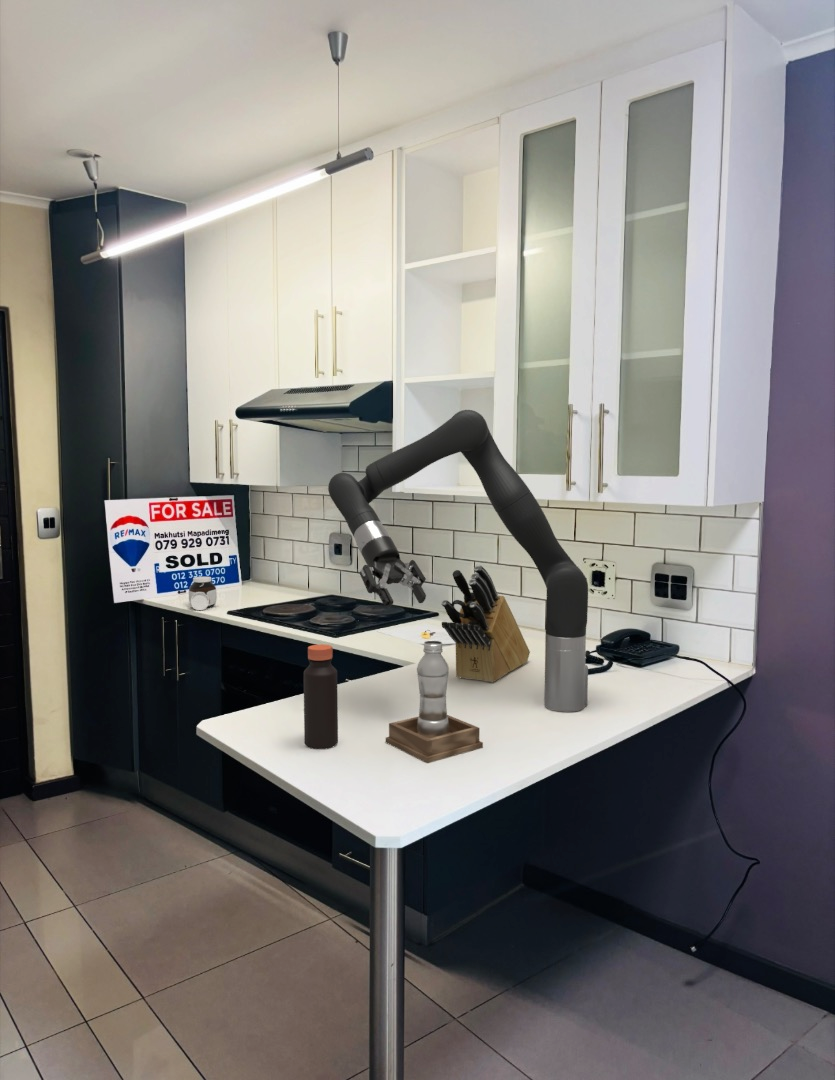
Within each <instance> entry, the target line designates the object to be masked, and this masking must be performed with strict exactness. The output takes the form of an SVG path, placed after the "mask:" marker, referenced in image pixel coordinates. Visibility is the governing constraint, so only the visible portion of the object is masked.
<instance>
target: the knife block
mask: <svg viewBox="0 0 835 1080" xmlns="http://www.w3.org/2000/svg"><path fill="white" fill-rule="evenodd" d="M473 572H474V573H472V574H471V575H470V579H469V580H468V582H467V580H466V579H467V578H465V576H464V575H463V573H462V571H460V570H458V569H455V570H454V571H453V572H452V577H453V580H454V583H455V584H456V586H457V588H458V589H459V591H460V593H462V594H463V600H460V599H455V600H453V601H452V602H450V601H449V600H447V599H446V600H443V601H441V606H442V607H443V608H444V609H445V612H446V614H447V616H448V617H449V619H450V621H452V622H450V621H449V622H447V621H442V622H441V627H442V629H444V630H445V631H446V633H447V634H448V636H449V637H450V638H451V640H452V641H453V642H454V644H455V675H456V677H457V678H460V677H461V678H460V679H462V678H464V679H470V680H475V681H477V680H478V681H484V682H487V683H494V682H495V681H497V680H499V679H500V678H502V677H503V676H505V675H507V674H508V673H509V672H511V671H513V670H515V669H517V668H519V667H521V666H522V665H524V664H526V663H527V662H528V661H529V657H530V653H531V651H530V649H529V646H528V645H527V643H526V640H525V638H524V636H523V634H522V631H521V629H520V627H519V624H518V623H517V620H516V618H515V616H514V614H513V612H512V610H511V609H510V608H511V607H510V606H509V604H508V602H507V600H506V598H505V596H504V595H499V593H498V592H497V589H496V586H495V584H494V582H493V579H492V577H491V575H490V573H488V570H486V569H485V568H484V567H483V566H482V565H481V564H477V565H475V567H474V568H473ZM469 586H470V587H469ZM470 588H471V590H472V592H471V590H470ZM455 605H459V606H461V607H460V610H459V611H458V610H457V609H456V608H455Z"/></svg>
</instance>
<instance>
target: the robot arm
mask: <svg viewBox="0 0 835 1080" xmlns="http://www.w3.org/2000/svg"><path fill="white" fill-rule="evenodd" d="M490 431H491V430H490V429H489V426H488V424H487V421H486V419H485V417H483V415H482V414H480V413H479V412H477V411H475V410H472V409H463V410H459V411H458V412H456V413H455V414H453V416H452V417H451V418H449V419H448V420H446V421H445V422H444V423H443V424H441V425H440V426H438V427H437V428H436V429H435V430H433V431H431V432H430V433H428V434H426V435H425V436H423V437H421V438H419V439H418V440H415V441H414V442H412V443H409V444H407V445H405V446H403V447H401V448H399V449H396V450H395V451H393V452H391V453H388V454H386V455H385V456H383V457H381V458H379V459H377V460H376V461H375V460H374V461H373V462H371V463H369V464H368V465H367V466H366V468H365V476H364V477H362V479H360V480H359V481H358V480H357V479H356V478H355V477H354V476H353V475H352V474H350V473H348V472H337V473H336V474H335V475H333V476H332V477H331V478H330V480H329V483H328V488H327V490H328V494H329V496H330V499H331V501H332V502H333V504H334V505H335V506H336V508H337V510H338V511H339V513H340V514H341V516H342V517H343V518H344V520H345V523H346V524H347V526H348V528H349V530H350V532H351V534H352V536H353V538H354V541H355V543H356V546H357V548H358V550H359V552H360V554H361V556H362V558H363V560H364V561H365V564H364V565H363V567H362V568H361V570H360V571H359V575H360V577H361V579H362V581H363V584H364V587H365V589H366V591H367V593H369V594H373V593H375V594H376V595H377V596H378V597H379V598H380V601H381V602H382V604H383V606H384V607H386V608H387V609H389V608H392V606H393V604H394V599H393V598H392V595H391V594H390V591H389V590H388V588H386V586H387V585H391V584H392V585H393V584H400V585H402V586H404V587H405V586H406V587H407V588H410V590H412V591H411V592H412V593H413V595H414V597H415V599H416V601H417V602H418V604H423V603H424V602H425V601H426V598H427V594H426V592H425V590H424V589H423V587H422V586H423V584H424V582H426V580H427V579H426V577H425V575H424V574H423V572H422V570H421V569H420V567H419V565H418V564H417V563H416V561H415V560H414V559H412V560H410V561H409V562H406V563H405V562H403V560H401V557H400V552H399V550H398V548H397V547H396V544H395V543H394V541H393V539H392V537H391V536H390V535H391V534H389V531H388V530H387V529H386V527H385V525H383V524H382V521H381V520H380V517H378V514H377V512H376V511H375V510H374V508H373V507H372V506H371V504H370V503H372V502H373V501H374V500H375V499H376V498H377V497H379V496H380V495H381V494H382V493H383V492H384V491H386V490H389V489H390V488H393V487H394V486H396V485H397V484H399V483H402V482H404V481H406V480H408V479H409V478H411V477H412V476H414V475H416V474H418V473H419V472H420V471H422V470H424V469H426V468H427V467H428V466H430V465H432V464H434V463H436V462H438V461H440V460H442V459H445V458H447V457H449V456H451V455H454V454H458V453H461V454H462V456H464V458H465V459H466V461H467V463H469V464H470V467H472V469H473V470H474V472H475V473H476V474H477V476H478V478H479V480H480V482H481V485H482V487H483V489H484V492H485V493H486V496H487V498H488V500H489V502H490V504H491V506H492V508H493V509H494V511H495V512H496V514H497V515H498V517H499V519H500V520H501V522H502V523H503V525H504V527H505V528H506V529H507V531H508V532H509V533H510V534H511V536H512V537H513V538H514V540H515V541H516V542H517V543H518V545H520V547H521V548H523V550H524V551H525V552H526V553H527V554H528V556H529V557H530V558H531V559H532V562H533V563H534V565H535V566H536V569H537V570H538V572H539V574H540V576H541V578H542V580H543V582H544V584H545V587H546V602H545V603H546V605H545V606H546V607H545V608H546V610H545V611H546V612H545V615H546V616H545V634H544V635H545V641H544V642H545V643H544V644H545V649H544V650H545V651H544V699H543V701H544V704H543V705H544V707H545V708H547V709H549V710H552V711H556V712H562V713H564V712H567V713H569V712H571V713H572V712H578V711H582V710H584V708H585V707H587V706H588V695H589V694H588V691H589V690H588V689H589V688H588V687H589V686H588V685H589V682H588V681H589V666H588V665H587V664H586V650H587V649H586V643H587V641H586V640H587V626H588V625H587V624H588V613H589V611H588V608H589V606H588V605H589V583H588V580H587V578H586V576H585V574H584V572H583V571H582V570H581V569H580V567H579V566H577V564H576V563H575V562H574V560H572V559H571V557H570V556H569V554H568V553H567V552H566V551H565V549H564V548H563V547H562V545H561V544H560V542H559V541H558V540H557V537H556V536H555V534H554V532H553V530H552V527H551V524H550V523H549V520H548V519H547V517H546V515H545V513H544V510H543V509H542V507H541V505H540V504H539V501H538V500H537V499H536V497H535V496H534V494H533V493H532V491H531V489H530V488H529V487H528V486H527V484H526V482H525V481H524V480H523V479H522V478H521V476H520V475H519V474H518V472H517V471H516V470H515V469H514V468H513V466H512V465H511V464H510V463H509V462H508V460H507V459H506V458H505V457H504V456H503V454H502V452H501V451H500V449H499V447H498V444H497V443H496V441H495V439H494V438H493V435H492V432H490ZM405 576H406V577H405ZM375 577H376V578H377V581H376V579H375ZM404 577H405V579H404ZM386 584H387V585H386Z"/></svg>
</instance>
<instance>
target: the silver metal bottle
mask: <svg viewBox="0 0 835 1080" xmlns="http://www.w3.org/2000/svg"><path fill="white" fill-rule="evenodd" d="M443 649H444V648H443V642H442V641H439V640H426V641H424V643H423V653H424V655H422V657H421V658H420V660H419V661H418V663H417V665H416V666H417V667H416V672H417V674H416V675H417V680H418V689H419V711H418V716H419V717H418V716H417V717H418V722H417V731H418V734H419V735H421V736H424V737H426V738H428V739H430V738H434V737H438V736H441V735H445V734H448V733H449V721H448V717H447V715H448V709H447V707H448V706H447V688H448V681H449V672H450V667H449V664H448V662H447V661H446V659H445V658H444V656H443V655H442V653H443Z"/></svg>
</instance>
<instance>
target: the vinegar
mask: <svg viewBox="0 0 835 1080" xmlns="http://www.w3.org/2000/svg"><path fill="white" fill-rule="evenodd" d="M333 654H334V653H333V646H332V645H329V644H312V645H309V646H308V647H307V659H308V662H309V665H308V666H307V667H306V668H305V669H304V671H303V721H304V723H303V725H304V727H303V728H304V729H303V731H304V732H303V733H304V737H303V738H304V739H303V741H304V745H305V747H307V748H309V749H312V748H313V749H312V750H326V748H327V749H331V748H333V746H334V747H335V746H337V744H339V743H338V742H339V721H338V720H339V716H338V715H339V713H338V711H339V709H338V708H339V707H338V702H339V701H338V700H339V699H338V698H339V697H338V670H337V668H336V667H334V666H333V665H332V661H333Z"/></svg>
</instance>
